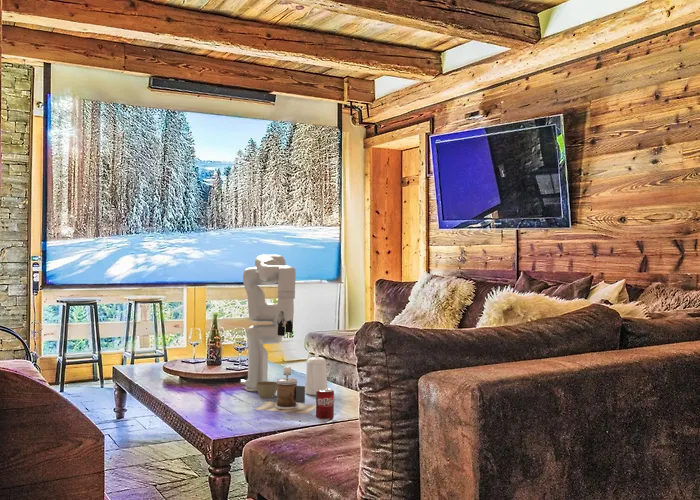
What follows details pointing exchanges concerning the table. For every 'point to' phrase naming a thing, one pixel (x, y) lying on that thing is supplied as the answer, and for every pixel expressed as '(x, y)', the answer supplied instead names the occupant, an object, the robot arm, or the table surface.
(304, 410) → the serving board
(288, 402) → the mug
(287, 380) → the silver knobbed lid
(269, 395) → the flower pot
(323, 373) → the coffeepot
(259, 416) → the table surface
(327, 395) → the soda can
